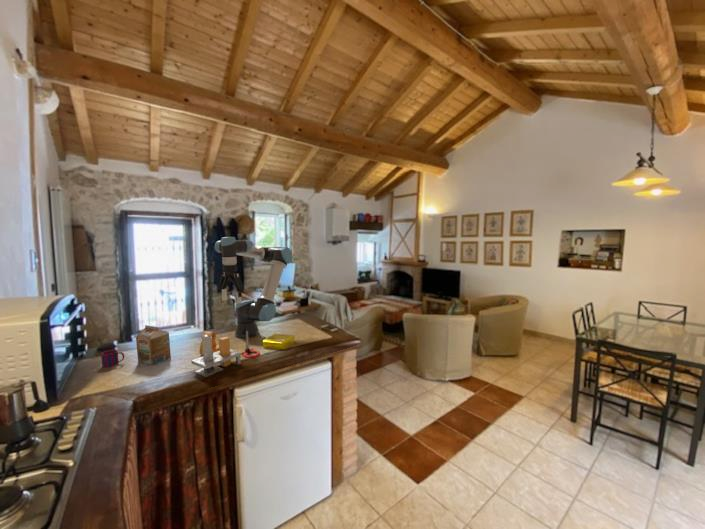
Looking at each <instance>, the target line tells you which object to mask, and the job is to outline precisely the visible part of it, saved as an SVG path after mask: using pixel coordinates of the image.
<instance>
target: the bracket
mask: <svg viewBox="0 0 705 529" xmlns="http://www.w3.org/2000/svg"><path fill="white" fill-rule="evenodd" d="M205 334H212V348H213V353H214V352H217V351H220V349H219V344H217V342H216V338H217V333H216V332H214V331H208V330H206V331H205V332H204V333H203V334H202V335H205ZM199 355H203V350H202V340H201V341H200V348H199Z"/></svg>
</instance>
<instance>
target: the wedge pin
mask: <svg viewBox="0 0 705 529" xmlns="http://www.w3.org/2000/svg"><path fill="white" fill-rule="evenodd" d="M218 345H219V349H220V355H221V356H225V355H228V354H230V349H231V347H230V346H231V345H230V337H228V336H223V337H220V338H218ZM231 360H232V359H230V360H228V361H225V362H222V363H220V366H222V367H224V368H225V367H228V366H230V365H231V364H232V363H231V362H232V361H231Z"/></svg>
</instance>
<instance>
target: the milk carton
mask: <svg viewBox="0 0 705 529" xmlns="http://www.w3.org/2000/svg"><path fill="white" fill-rule="evenodd" d="M135 340H136V341H135V342H136V352H137V354H136V355H137V364H141V365H145V366H149V367H153V366H156V365H158V364H161V363H162V362H165V361H167V360H169V359H171V358H172V355H171V341H170V333H169V332H168V331H166V330H163V329H160V327H159V326H154V325H148V324H146V325H145V326H144V328H143V329H142V330H141V331H140V332H139V333H138V334H137V335H136V336H135Z"/></svg>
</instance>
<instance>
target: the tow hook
mask: <svg viewBox="0 0 705 529" xmlns="http://www.w3.org/2000/svg"><path fill="white" fill-rule="evenodd" d="M249 345H250V344H249V337H248V331H246V338H245V349H244V351H242V352H241V355H243V357H244V358H248V359H250V358H251V359H252V358H253V359H254V358H256V357H258V356H260V350H255V349H254V348H252V349H251V348H250V347H249ZM250 353H253V354H252V355H248V354H250Z"/></svg>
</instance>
